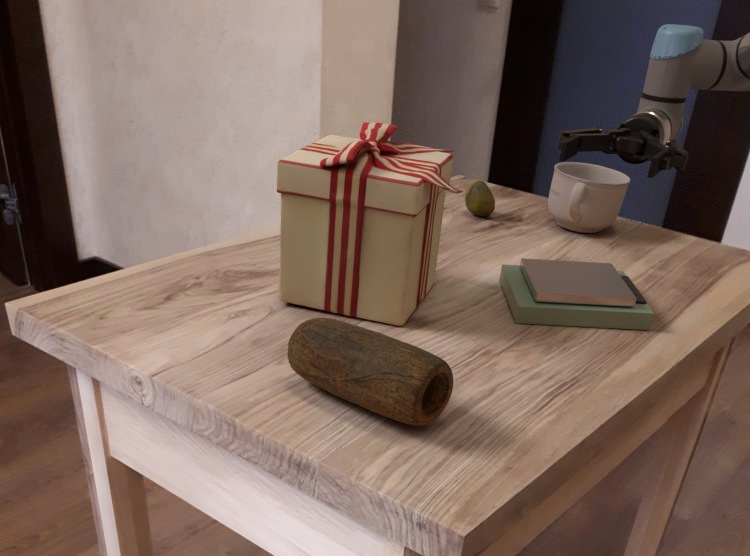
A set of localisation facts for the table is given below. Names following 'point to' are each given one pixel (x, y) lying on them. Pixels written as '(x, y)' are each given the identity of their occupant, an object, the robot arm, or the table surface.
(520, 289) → the scale
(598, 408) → the table surface
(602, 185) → the teacup
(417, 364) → the wooden vase
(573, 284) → the pan
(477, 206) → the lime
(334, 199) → the gift box
